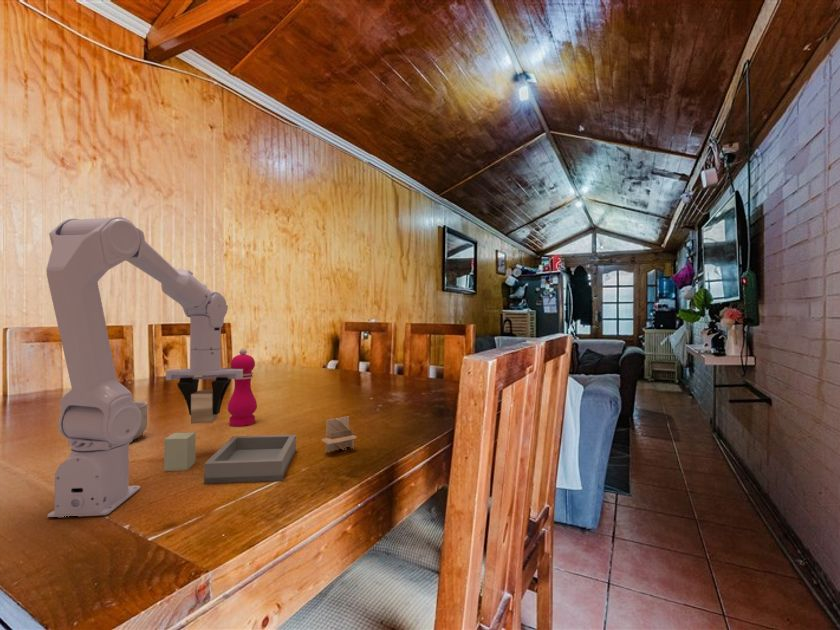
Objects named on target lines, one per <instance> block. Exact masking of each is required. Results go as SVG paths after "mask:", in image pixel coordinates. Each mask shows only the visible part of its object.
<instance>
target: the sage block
mask: <svg viewBox="0 0 840 630" xmlns="http://www.w3.org/2000/svg"><path fill="white" fill-rule="evenodd" d="M196 433H197V432H195V431H193V432H191V431H190V432H174V433H171V434H169V436H166V437H165V438H164V439H163V440H164V442H163V443H164V445H163V446H164V447H163V449H164V450H163V472H172V471H173V472H175V471H176V472H178V471H188V470H189V469H190V468H191V467H192V466H193V465H194V464H196V437H197V436H196Z"/></svg>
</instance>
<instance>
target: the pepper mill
mask: <svg viewBox="0 0 840 630" xmlns="http://www.w3.org/2000/svg"><path fill="white" fill-rule="evenodd" d="M247 352H248V351H247V349H245V348H241V349H239V354H237V355H235V356H234V357H232V359H231V361H230V369H243V378H242V379H233V381H234V388H233V392H232V395H231V396H230V399H229V401H228V403H227V412H228V413H229V415H231V416H230V417H229V426H231V427H246V425H247V426H250V425H254V424H255V422H256V416H255V415H254V412H256V410H257V408H258V404H257V403H258V402H257V400H256V398H255V395H254V394H253V390H252V387H251V386H252V385H251V384H252V383H251V382H252V378H254V376H253V374H254V373H253V372H252V371H253V370H254V369H255V366H256V361H255V359H254V357H253V356H252V355H249V354H247Z"/></svg>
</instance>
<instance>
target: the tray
mask: <svg viewBox="0 0 840 630" xmlns="http://www.w3.org/2000/svg"><path fill="white" fill-rule="evenodd" d="M296 451H297V435H296V434H274V435H273V434H271V435H270V434H269V435H239V436H238V435H236V436H234V435H233V436H231V437H230V438H229V439H228V440H227V441H226V442H225V443H224V444H223V445H222V446H221V447H220V448H219V449H218V450H217V451H216V452H215V453H213V455H212V456H211V457H210V458H208V460H206V462H205V463H204V464H203V466H204V468H203V484H204V485H208V484H209V485H210V484H230V483H231V484H232V483H233V484H234V483H238V484H239V483H256V482H258V483H259V482H281V481H283V479H284V477H285V474H286V473H287V470H288V468H289V466H290V464H291V462H292V459H293V457H294V455H295V454H296Z"/></svg>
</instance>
